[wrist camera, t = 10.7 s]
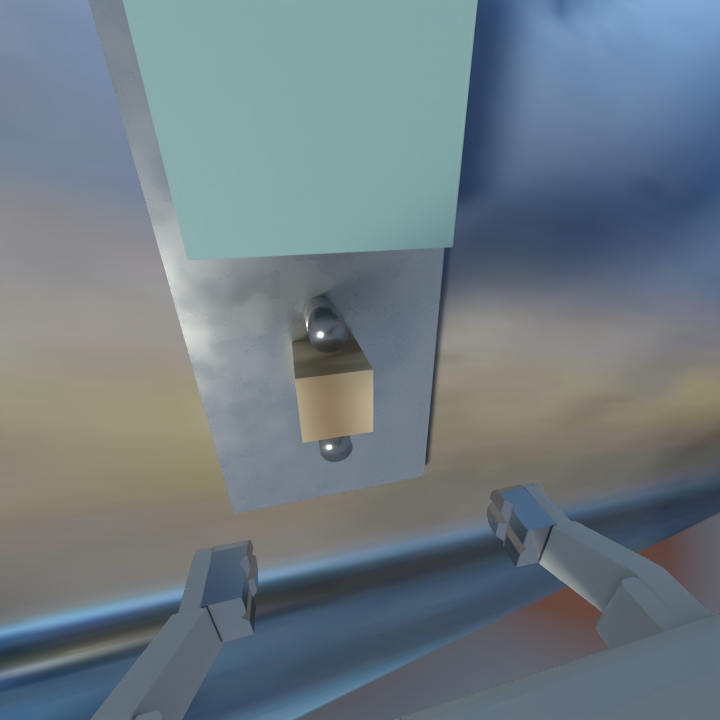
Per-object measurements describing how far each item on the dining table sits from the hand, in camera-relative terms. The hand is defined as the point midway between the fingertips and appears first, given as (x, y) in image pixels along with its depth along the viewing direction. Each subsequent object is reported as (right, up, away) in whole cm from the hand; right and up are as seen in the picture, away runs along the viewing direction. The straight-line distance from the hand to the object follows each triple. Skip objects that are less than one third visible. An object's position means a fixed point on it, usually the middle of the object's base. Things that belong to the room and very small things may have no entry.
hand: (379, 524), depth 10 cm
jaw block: (-3, +5, +11) cm, 12 cm away
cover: (-3, +16, +5) cm, 17 cm away
